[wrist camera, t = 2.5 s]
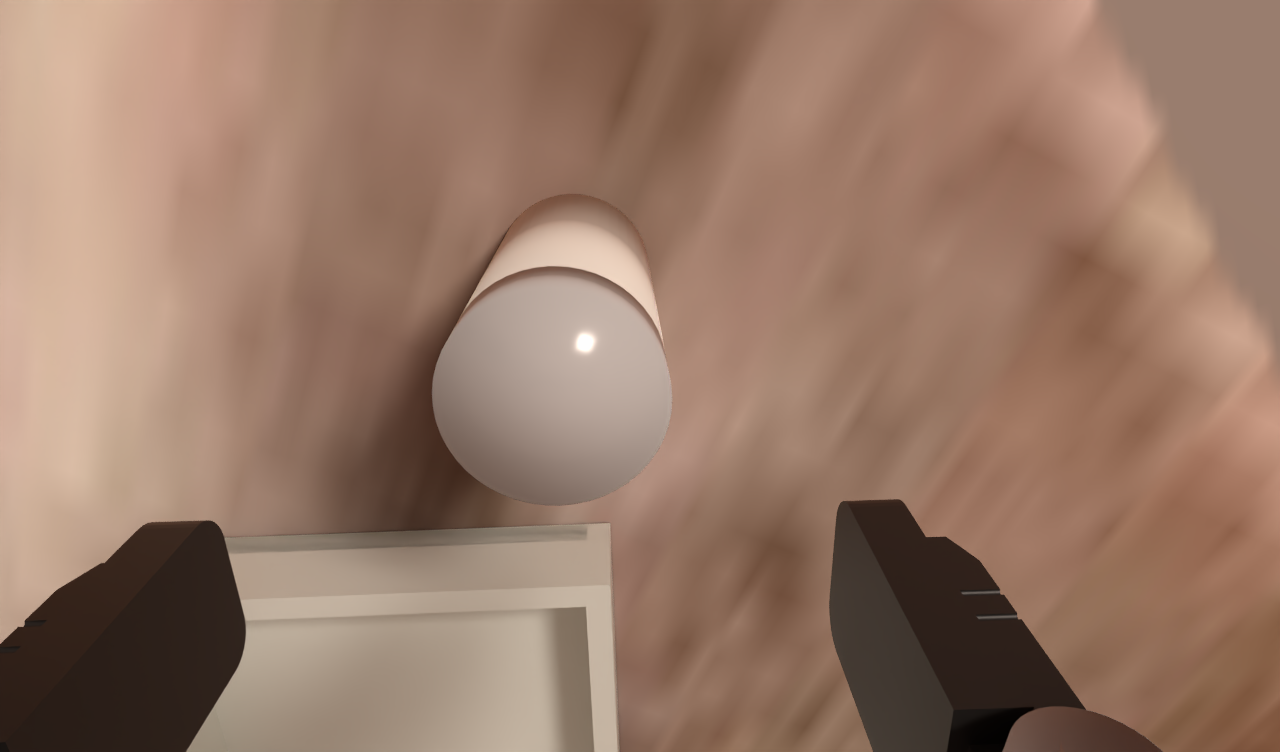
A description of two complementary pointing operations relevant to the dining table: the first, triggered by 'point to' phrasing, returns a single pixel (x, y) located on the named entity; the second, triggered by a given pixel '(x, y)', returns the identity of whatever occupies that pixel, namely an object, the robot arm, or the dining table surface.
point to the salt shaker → (557, 359)
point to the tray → (423, 643)
